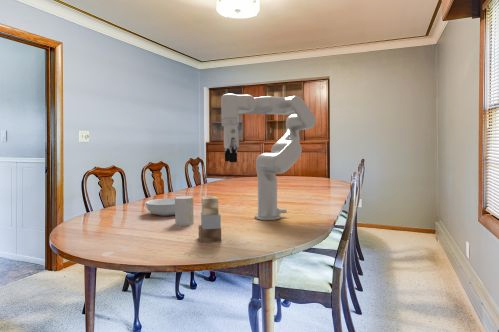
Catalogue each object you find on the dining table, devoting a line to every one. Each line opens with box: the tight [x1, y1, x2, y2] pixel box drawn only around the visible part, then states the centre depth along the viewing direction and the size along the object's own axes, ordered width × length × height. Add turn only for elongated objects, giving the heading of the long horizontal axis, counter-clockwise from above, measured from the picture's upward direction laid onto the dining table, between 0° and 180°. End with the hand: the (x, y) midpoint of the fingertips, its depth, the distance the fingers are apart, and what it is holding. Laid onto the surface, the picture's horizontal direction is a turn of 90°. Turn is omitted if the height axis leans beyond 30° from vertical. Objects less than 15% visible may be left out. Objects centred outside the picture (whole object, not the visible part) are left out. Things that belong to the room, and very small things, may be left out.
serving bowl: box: [145, 198, 175, 217], centre depth 168 cm, size 21×21×7 cm
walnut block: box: [198, 224, 222, 244], centre depth 121 cm, size 8×8×5 cm
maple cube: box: [201, 195, 219, 215], centre depth 121 cm, size 6×6×6 cm
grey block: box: [200, 211, 222, 229], centre depth 121 cm, size 6×6×5 cm
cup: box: [174, 195, 195, 227], centre depth 146 cm, size 8×8×12 cm
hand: (230, 161), depth 143 cm, fingers open, 9 cm apart
